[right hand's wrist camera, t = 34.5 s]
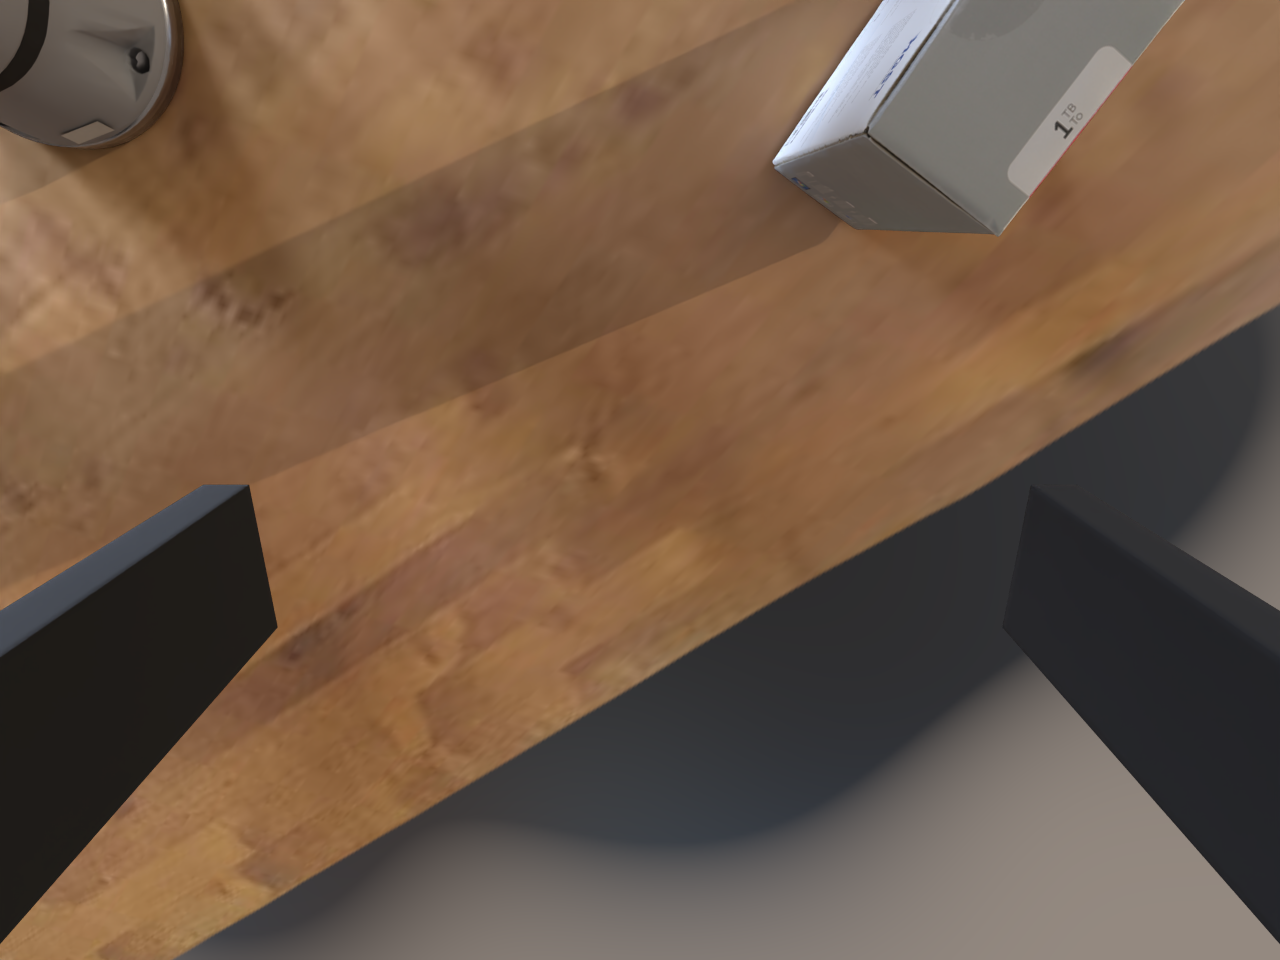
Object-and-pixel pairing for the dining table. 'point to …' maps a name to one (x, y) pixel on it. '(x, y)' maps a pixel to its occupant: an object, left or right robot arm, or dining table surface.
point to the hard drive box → (961, 107)
